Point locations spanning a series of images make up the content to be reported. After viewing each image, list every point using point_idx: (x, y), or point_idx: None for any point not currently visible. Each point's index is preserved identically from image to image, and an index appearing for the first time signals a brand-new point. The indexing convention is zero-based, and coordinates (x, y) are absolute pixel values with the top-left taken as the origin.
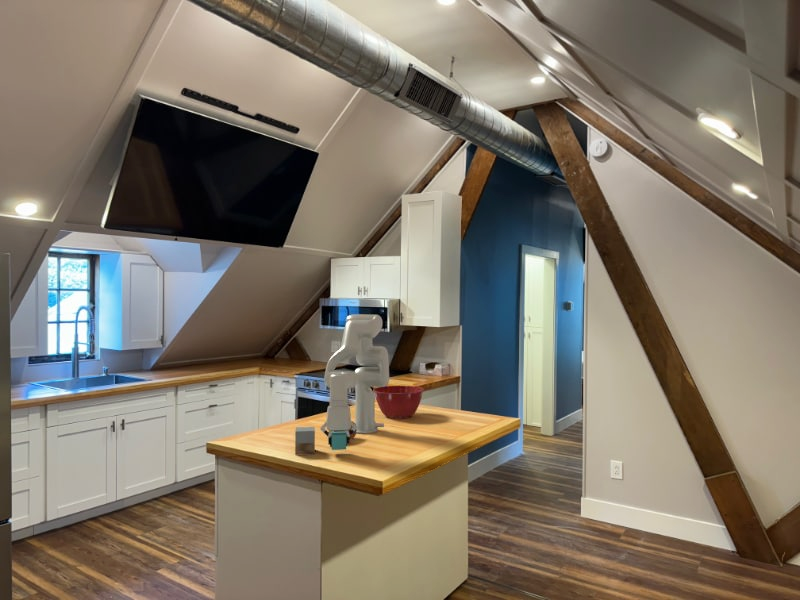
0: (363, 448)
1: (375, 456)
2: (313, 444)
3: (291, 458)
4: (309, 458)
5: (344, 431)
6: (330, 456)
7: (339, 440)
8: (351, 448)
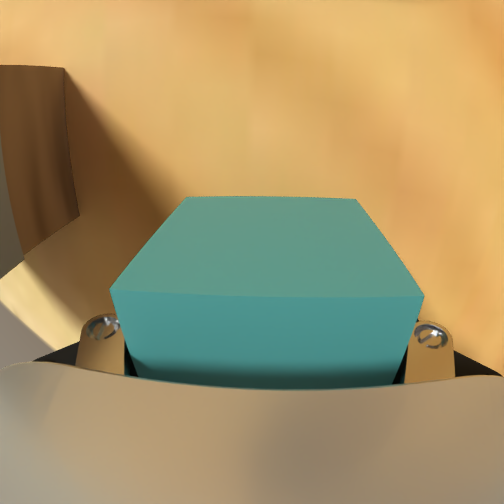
0: (490, 95)
1: (489, 317)
2: (25, 249)
3: (4, 287)
4: (77, 308)
5: (403, 296)
6: None
7: None
8: (404, 58)
